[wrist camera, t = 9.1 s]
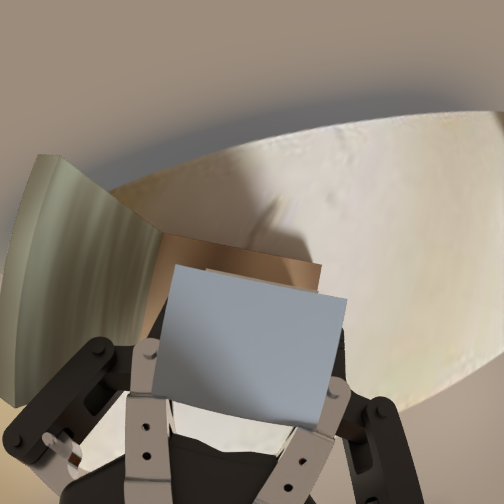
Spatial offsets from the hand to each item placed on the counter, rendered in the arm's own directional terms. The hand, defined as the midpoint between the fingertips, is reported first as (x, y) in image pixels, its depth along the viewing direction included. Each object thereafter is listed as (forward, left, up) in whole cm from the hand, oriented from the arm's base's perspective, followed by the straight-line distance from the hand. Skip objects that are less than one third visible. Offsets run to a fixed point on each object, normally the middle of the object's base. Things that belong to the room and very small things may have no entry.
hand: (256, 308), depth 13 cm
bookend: (+2, +1, -8) cm, 9 cm away
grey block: (0, +1, -5) cm, 5 cm away
